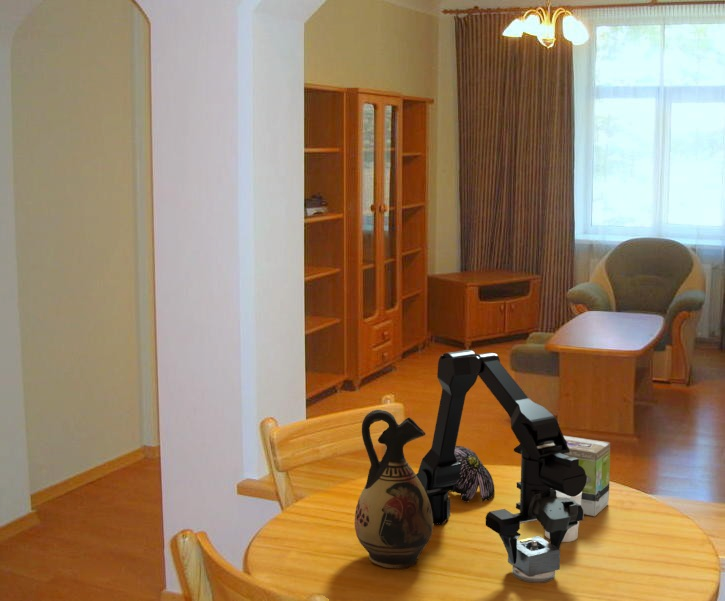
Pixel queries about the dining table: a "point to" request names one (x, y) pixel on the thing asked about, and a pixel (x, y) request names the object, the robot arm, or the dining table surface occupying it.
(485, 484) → the decorative flower
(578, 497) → the white cup
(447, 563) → the dining table surface
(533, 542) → the hub
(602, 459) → the tea box
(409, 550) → the ceramic jug
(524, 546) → the grey knob housing box
